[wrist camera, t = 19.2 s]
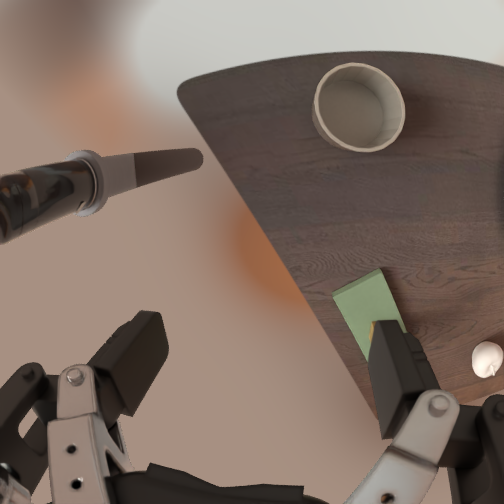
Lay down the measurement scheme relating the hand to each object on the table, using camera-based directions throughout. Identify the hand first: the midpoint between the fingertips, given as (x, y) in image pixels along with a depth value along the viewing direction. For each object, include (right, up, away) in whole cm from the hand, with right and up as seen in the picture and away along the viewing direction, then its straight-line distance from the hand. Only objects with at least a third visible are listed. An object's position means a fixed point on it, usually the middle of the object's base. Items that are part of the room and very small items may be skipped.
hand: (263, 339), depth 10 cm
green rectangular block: (+20, -8, +32) cm, 39 cm away
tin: (+12, +21, +23) cm, 33 cm away
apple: (+45, -16, +31) cm, 57 cm away
